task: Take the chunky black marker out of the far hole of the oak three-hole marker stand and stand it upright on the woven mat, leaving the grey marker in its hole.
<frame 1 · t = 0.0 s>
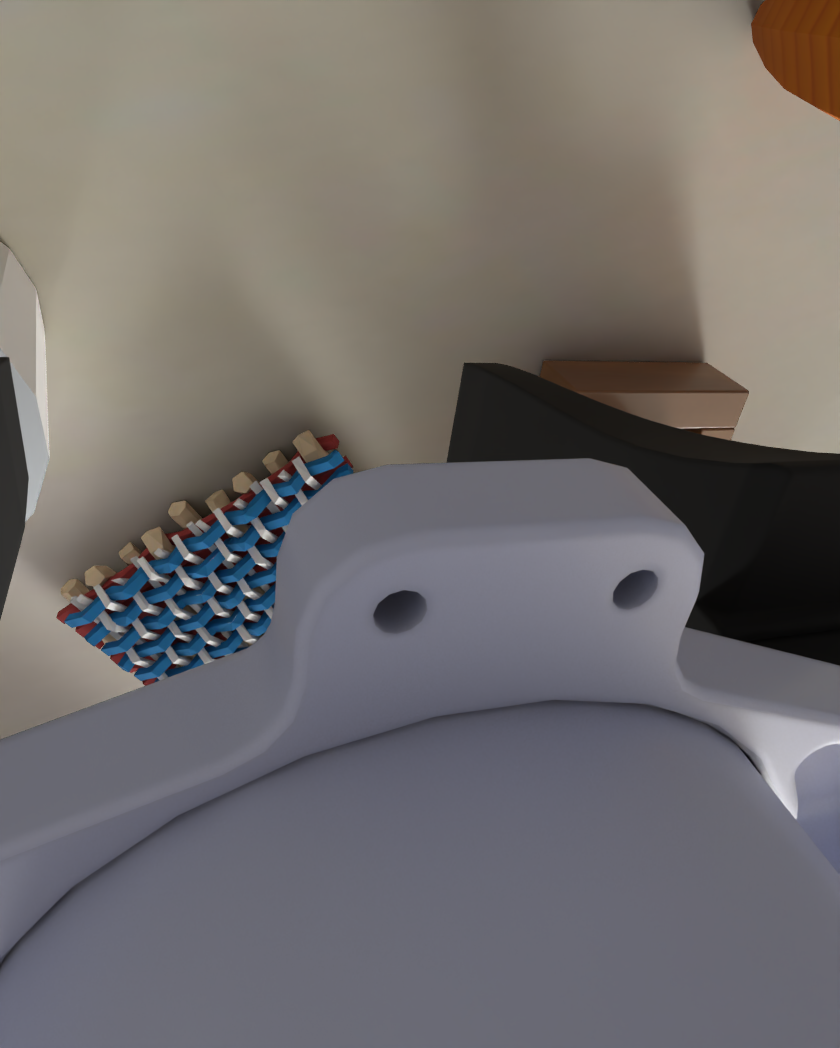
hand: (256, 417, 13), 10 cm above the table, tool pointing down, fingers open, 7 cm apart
marker stand: (569, 559, 31), on the table
woven mat: (269, 590, 28), on the table
carrot: (754, 22, 22), on the table
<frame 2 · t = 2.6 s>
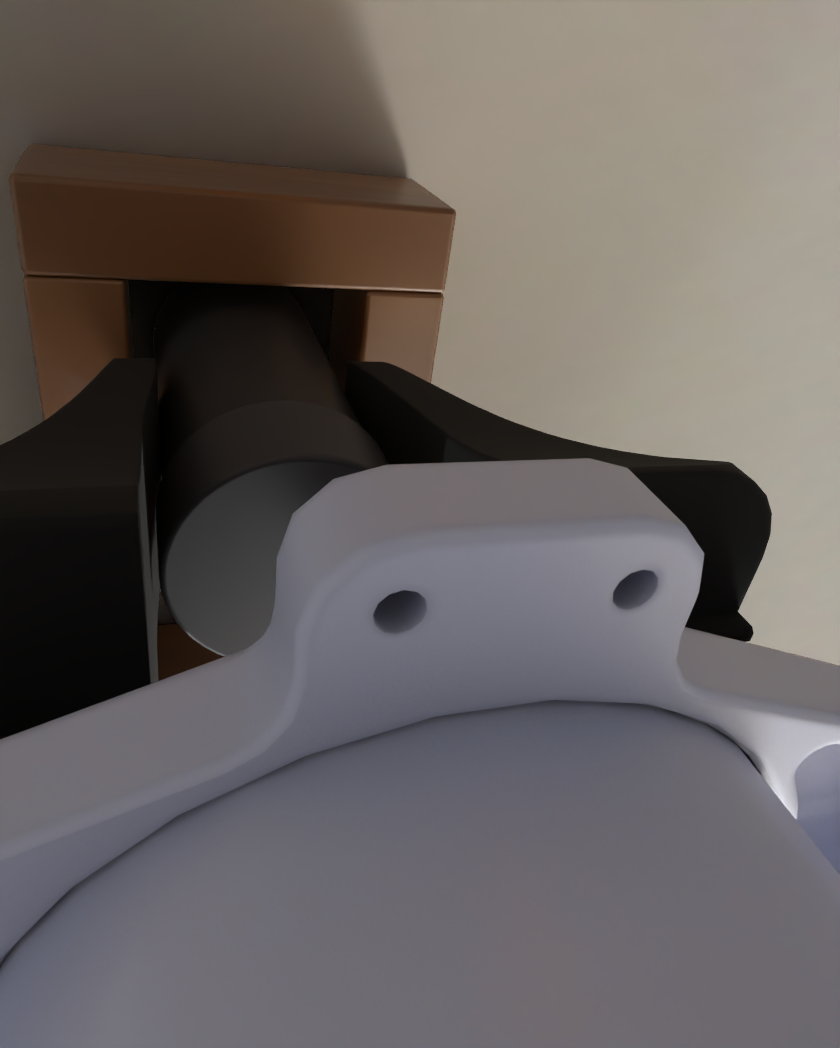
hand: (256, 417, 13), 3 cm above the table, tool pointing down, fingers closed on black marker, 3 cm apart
marker stand: (233, 555, 18), on the table
black marker: (233, 342, 15), resting in marker stand, touching gripper
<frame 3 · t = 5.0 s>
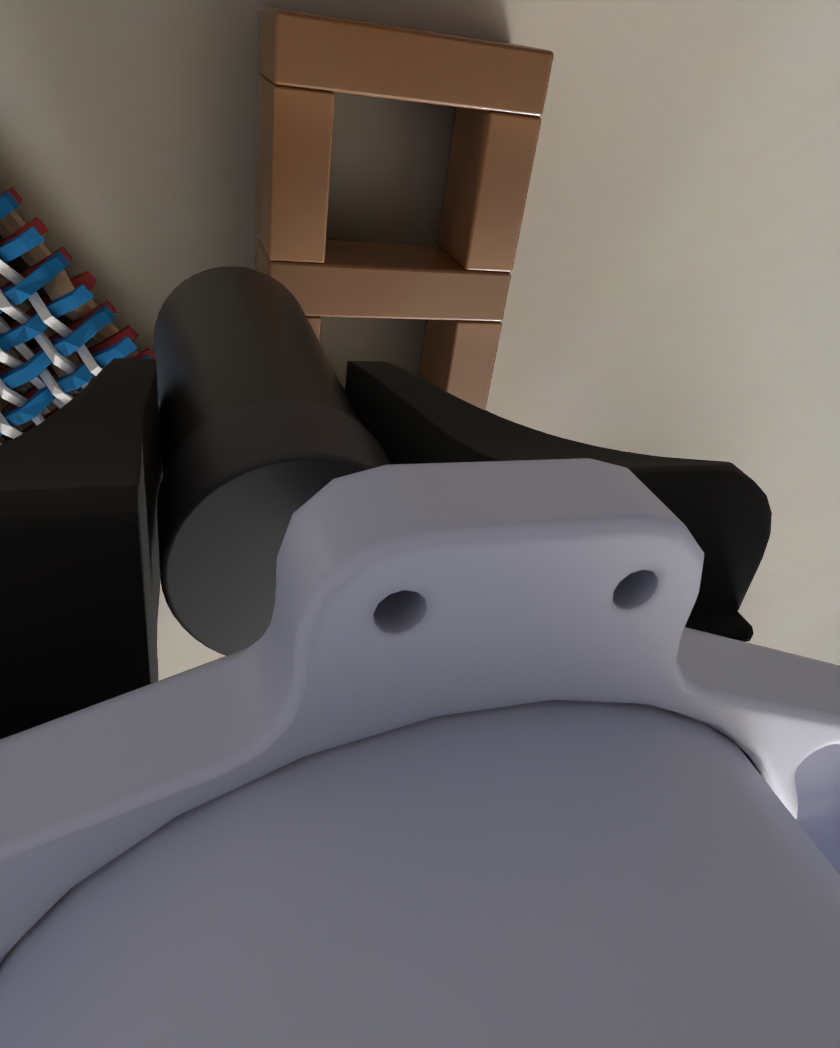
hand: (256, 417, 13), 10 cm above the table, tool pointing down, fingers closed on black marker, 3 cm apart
marker stand: (363, 351, 24), on the table
black marker: (234, 341, 15), point 7 cm above the table, touching gripper
when the fingers open (5 cm above the table, at t = 7.5 s): black marker stays where it is, resting on woven mat.
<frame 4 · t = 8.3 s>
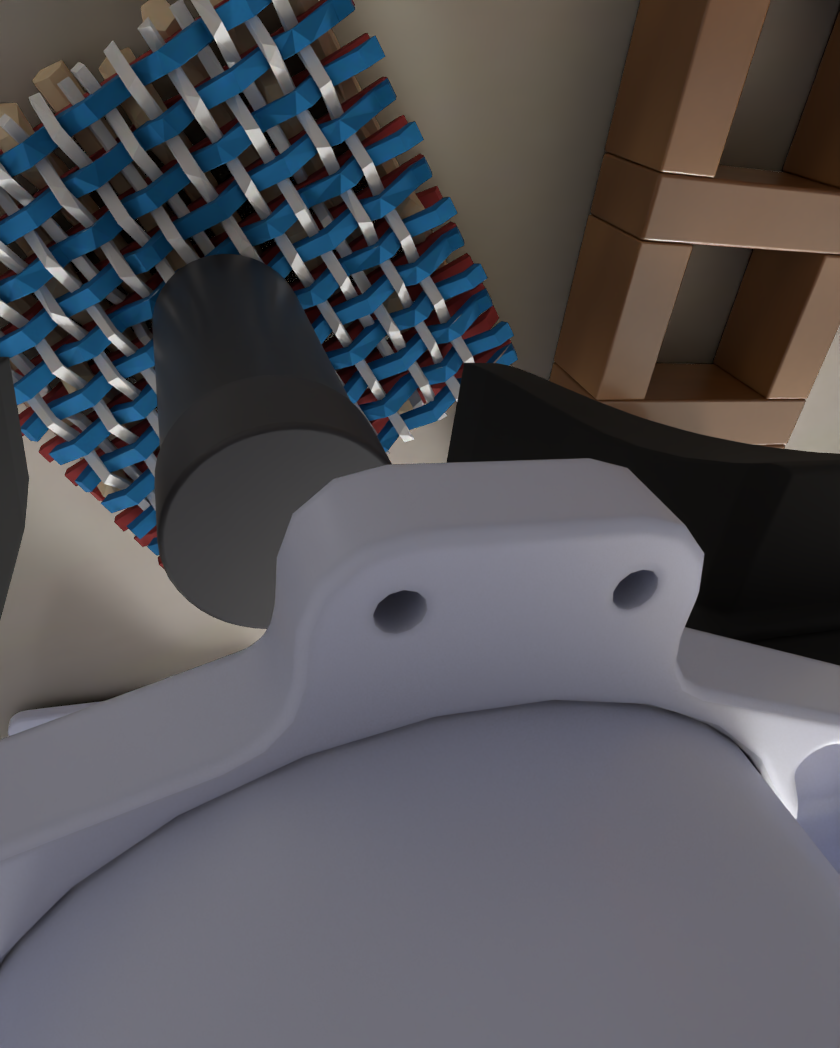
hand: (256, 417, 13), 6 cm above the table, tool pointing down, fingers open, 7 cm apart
marker stand: (677, 296, 21), on the table
woven mat: (221, 294, 18), on the table, touching black marker
black marker: (230, 327, 16), point 2 cm above the table, touching woven mat
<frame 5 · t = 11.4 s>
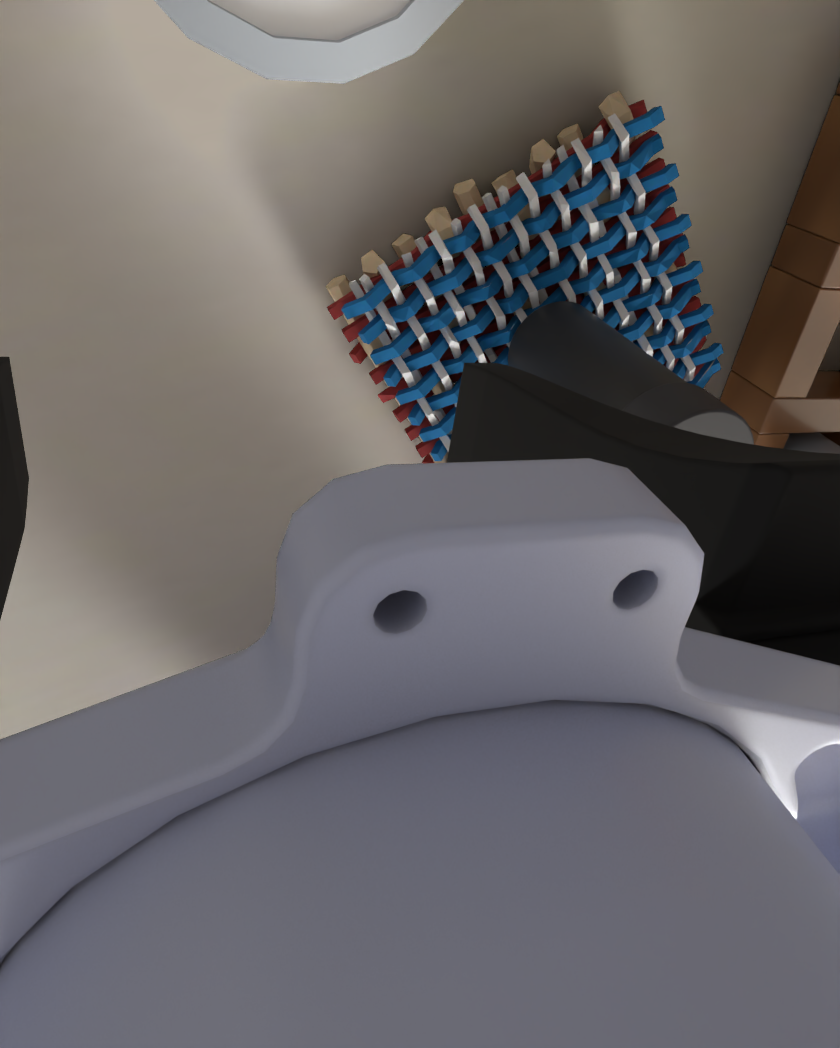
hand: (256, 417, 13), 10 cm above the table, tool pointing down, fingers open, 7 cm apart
marker stand: (821, 322, 29), on the table
woven mat: (523, 324, 25), on the table, touching black marker
black marker: (552, 348, 23), point 2 cm above the table, touching woven mat
grey marker: (768, 446, 31), resting in marker stand
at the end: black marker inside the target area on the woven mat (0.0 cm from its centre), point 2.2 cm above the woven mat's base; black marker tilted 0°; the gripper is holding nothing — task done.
